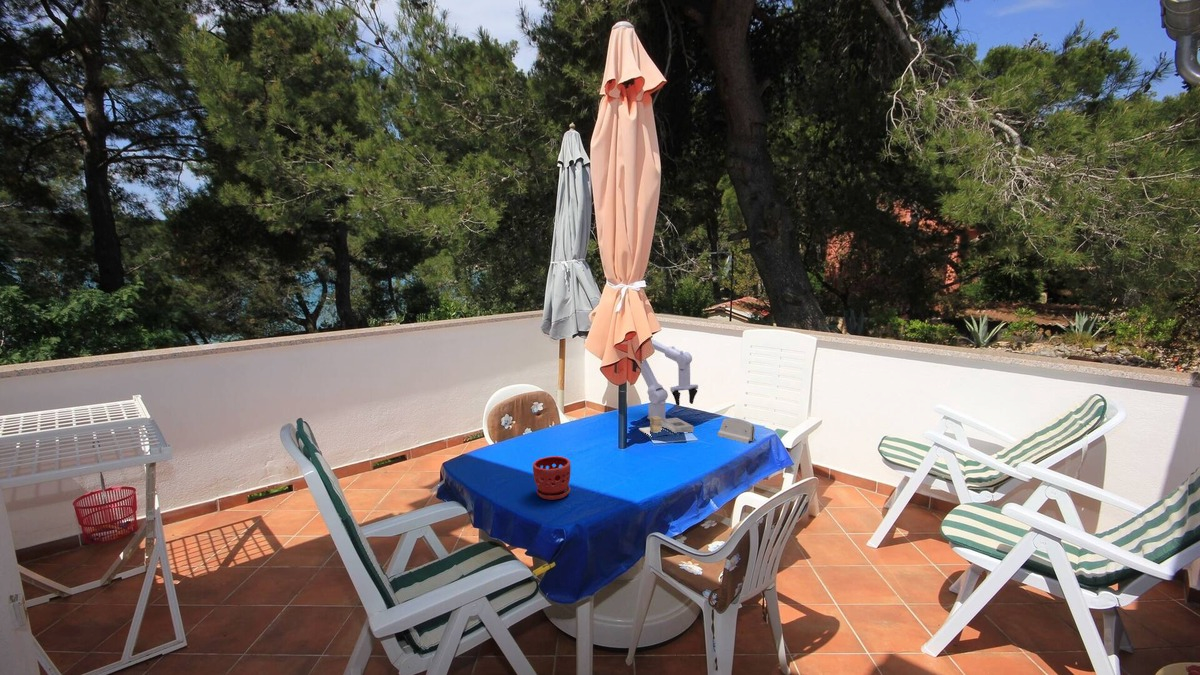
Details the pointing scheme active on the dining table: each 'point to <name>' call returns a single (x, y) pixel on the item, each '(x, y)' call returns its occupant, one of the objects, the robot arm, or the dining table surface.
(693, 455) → the dining table surface
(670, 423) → the white frame
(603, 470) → the dining table surface
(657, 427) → the peg
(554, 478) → the plant pot
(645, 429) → the pad
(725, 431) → the hinge
